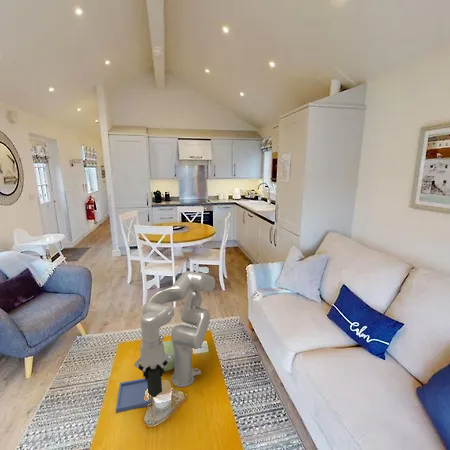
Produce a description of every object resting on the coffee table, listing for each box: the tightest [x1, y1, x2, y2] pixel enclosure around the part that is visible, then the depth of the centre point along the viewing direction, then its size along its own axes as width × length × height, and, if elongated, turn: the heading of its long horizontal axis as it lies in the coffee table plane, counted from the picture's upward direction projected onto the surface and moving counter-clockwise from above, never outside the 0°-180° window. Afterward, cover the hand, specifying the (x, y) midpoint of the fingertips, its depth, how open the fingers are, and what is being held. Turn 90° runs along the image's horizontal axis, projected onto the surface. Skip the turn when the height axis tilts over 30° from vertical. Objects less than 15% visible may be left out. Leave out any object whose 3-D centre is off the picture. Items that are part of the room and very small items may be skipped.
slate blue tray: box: [115, 377, 152, 414], centre depth 133 cm, size 16×16×2 cm
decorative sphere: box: [158, 340, 174, 372], centre depth 151 cm, size 15×15×15 cm
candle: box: [146, 365, 163, 398], centre depth 117 cm, size 5×5×25 cm
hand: (153, 375), depth 118 cm, fingers closed on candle, 6 cm apart
